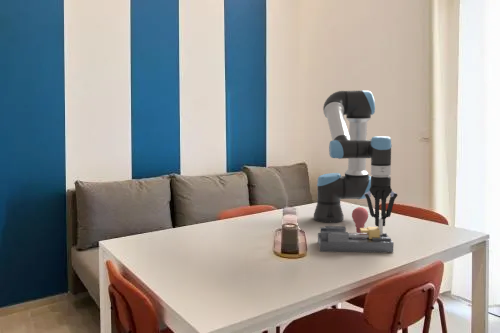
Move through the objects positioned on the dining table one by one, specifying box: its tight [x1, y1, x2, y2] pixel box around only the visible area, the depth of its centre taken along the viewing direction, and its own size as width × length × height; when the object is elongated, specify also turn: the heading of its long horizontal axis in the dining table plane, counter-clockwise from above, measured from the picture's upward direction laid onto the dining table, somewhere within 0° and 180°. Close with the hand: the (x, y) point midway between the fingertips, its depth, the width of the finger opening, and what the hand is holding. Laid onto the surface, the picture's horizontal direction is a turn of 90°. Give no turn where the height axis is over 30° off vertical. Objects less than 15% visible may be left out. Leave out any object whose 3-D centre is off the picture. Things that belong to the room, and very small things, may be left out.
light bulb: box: [351, 206, 369, 233], centre depth 186 cm, size 7×7×12 cm
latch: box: [360, 226, 380, 239], centre depth 167 cm, size 7×5×4 cm
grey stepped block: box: [317, 225, 394, 253], centre depth 168 cm, size 28×12×7 cm, turn 85°
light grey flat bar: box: [348, 232, 369, 238], centre depth 168 cm, size 18×3×1 cm, turn 85°
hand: (380, 233), depth 167 cm, fingers closed
